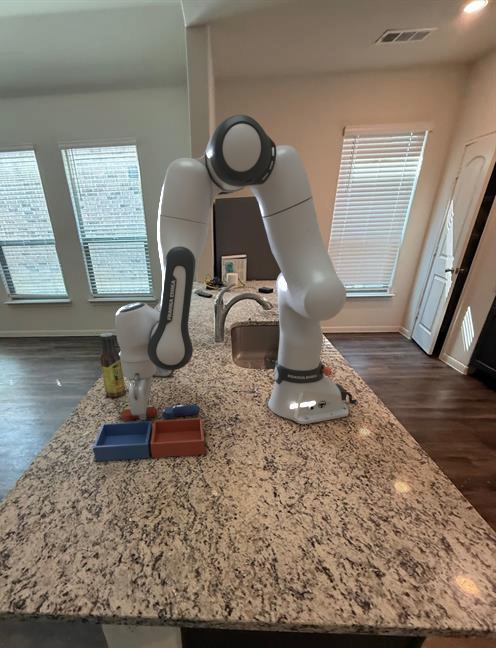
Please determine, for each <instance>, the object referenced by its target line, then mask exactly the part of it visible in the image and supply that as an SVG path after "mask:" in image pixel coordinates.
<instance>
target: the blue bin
mask: <svg viewBox="0 0 496 648" xmlns="http://www.w3.org/2000/svg"><path fill="white" fill-rule="evenodd" d="M152 430H153V424H152V420H140V421H123V422H110V423H109V422H108V423H107V422H106V423H102V424H101V426H100V429H99V430H98V433H97V435H96V439H95V441H94V444H93V447H92V450H93V454H94V458H95V462H106V461H107V462H109V461H122V460H138V459H149V458H151V437H152Z"/></svg>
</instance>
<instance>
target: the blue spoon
mask: <svg viewBox="0 0 496 648" xmlns="http://www.w3.org/2000/svg"><path fill="white" fill-rule="evenodd" d="M200 411H201V409H200V406H199V405H198V404H195V403H194V404H177V405H173V406H167V407H165V408H164V409H163V417H164V418H165V419H166V420H173V419H176V417H183V416H196V415H198V414H199V413H200Z"/></svg>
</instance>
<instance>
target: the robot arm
mask: <svg viewBox="0 0 496 648" xmlns="http://www.w3.org/2000/svg"><path fill="white" fill-rule="evenodd" d="M165 172H166V173H165V177H164V179H163V185H162V188H161V194H160V201H159V207H158V217H157V245H158V254H159V260H160V266H161V274H162V288H161V299H160V307H159V308H160V309H159V310H158V309H155V308H153V307H151V306H150V305H148V304H147V303H146V302H142V301H140V302H132V303H129V304H125V305H124V306H122V307H121V308H119V309H118V310H117V312H116V313H115V320H114V321H115V324H114V325H115V334H116V341H117V344H118V346H119V350H120V353H119V355H120V360H121V367H122V373H123V376H124V378H125V379H128V381H129V382H130V383H129V386H128V399H129V409H130V410H131V414H132V415H139V418H138V419H139V420H140V421H147V414H146V410H147V407H148V406H149V405H150V393H151V388H152V383H153V377H154V376H153V375H154V374H155V373H156V366H157V367H159V368H161V369H164V370H175V371H177V370H181V369H182V368H184V367H186V366H187V365H189V364H188V363H190V361H191V360H192V356H193V354H194V347H193V343H192V340H191V336H190V335H191V334H190V329H189V320H190V311H191V303H192V294H193V287H194V283H195V279H196V275H197V272H198V269H199V266H200V263H201V261H202V257H203V254H204V251H205V248H206V243H207V240H208V235H209V228H210V223H211V215H212V209H213V206H214V202H215V200H216V198H217V196H221V195H229V194H233V193H236V192H239V191H242V190H243V189H245V188H246V189H248V190H249V191H251V192H252V194H253V195H254V197H255V198H256V201H257V202H258V205H259V206H258V207H259V211H260V214H261V215H260V216H261V218H262V221H263V225H264V229H265V232H266V236H267V240H268V243H269V246H270V250H271V253H272V256H273V257H274V259H275V261H276V263H277V265H278V267H279V269H280V273H279V274H278V276H277V278H276V282H275V290H276V293H277V311H278V324H279V325H278V326H279V338H278V339H279V342H278V352H277V353H278V354H277V359H276V360H275V367H274V374H273V375H274V384H273V387H272V392H271V395H270V398H269V400H268V401H267V406H268V408H269V410H270V411H271V412H272V413H274V414H275V415H277V416H279V417H281V418H285V419H288V420H291V421H293V422H295V423H297V424H300V425H308V424H314V423H319V422H324V421H325V422H326V421H329V420H335V419H339V418H345V417H346V418H347V417H348V416H349V407H348V405H347V404H346V400H347V396H348V401H349V403H351V404H354V403H357V401H358V400H357V399H353V394H352V393H350V392H349V391H347V390H346V389H345V388H344V387H343V386H342V385H341V384H336V383H335V382H333V380H331V379H330V378H329V377H330V376H332V373H333V370H332V369H330V367H328V366H326V365H325V364H324V363H322V362H321V354H322V348H323V343H324V334H323V329H322V325H321V322H323V321H328V320H331V319H333V318H335V317H336V316H337V315H338V314H340V312H341V311H342V309H343V308H344V306H345V305H346V302H347V290H346V286H345V285H344V283H343V282H342V280H341V279H340V277H339V276H338V273H337V271H336V268H335V267H334V264H333V262H332V259H331V255H330V254H329V252H328V249H327V247H326V245H325V241H324V240H323V235H322V232H321V229H320V225H319V220H318V215H317V211H316V205H315V200H314V197H313V192H312V187H311V183H310V180H309V176H308V174H307V170H306V168H305V164H304V162H303V160H302V157H301V154H300V152H299V151H298V149H297V148H295V147H294V146H293V145H289V144H281V145H277V144H276V143H275V141H274V140H272V139H271V137H270V136H269V135H268V134H267V133H266V131H265V130H264V128H263V126H262V125H261V124H260V123H259V122H258V121H257V120H256V119H254V117H251V116H249V115H246V114H235V115H231V116H229V117H227V118H225V119H224V120H222V121H221V122H220V123H219V124H218V125H217V127H216V128H215V130H214V131H213V133H212V135H211V136H210V138H209V140H208V143H207V145H206V149H205V150H204V152H203V154H202V156H200V157H198V158H193V157H187V156H186V157H180V158H177V159H174V160H172V162H171V163H170V164H169V165H168V167H167V169H166V171H165Z"/></svg>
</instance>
